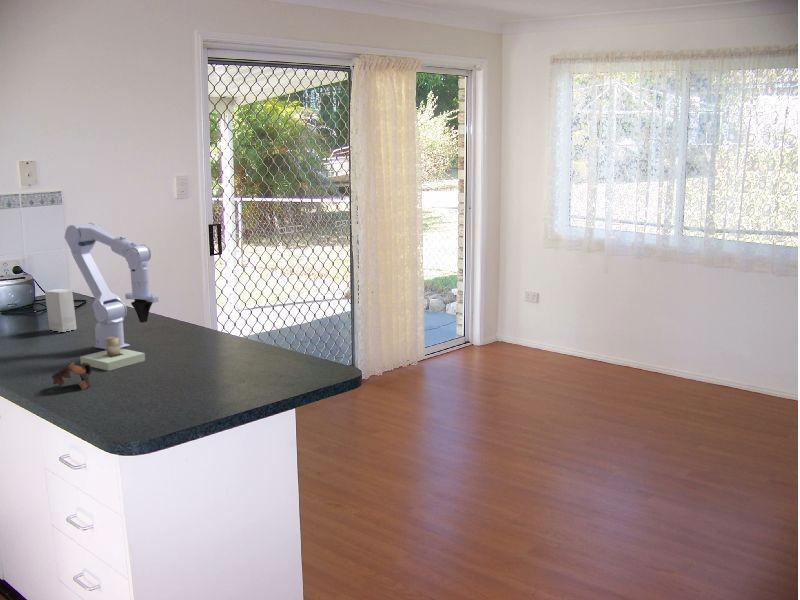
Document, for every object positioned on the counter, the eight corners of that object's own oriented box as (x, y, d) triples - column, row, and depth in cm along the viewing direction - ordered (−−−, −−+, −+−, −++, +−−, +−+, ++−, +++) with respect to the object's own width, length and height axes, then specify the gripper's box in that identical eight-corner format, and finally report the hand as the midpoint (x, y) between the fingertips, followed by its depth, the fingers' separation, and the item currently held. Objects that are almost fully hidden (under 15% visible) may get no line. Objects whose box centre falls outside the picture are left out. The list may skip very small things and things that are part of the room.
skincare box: (77, 330, 313) (73, 289, 310) (61, 333, 308) (58, 292, 305) (63, 327, 317) (59, 287, 315) (47, 331, 312) (44, 290, 309)
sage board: (80, 364, 265) (80, 356, 264) (117, 354, 276) (116, 347, 276) (108, 370, 257) (108, 362, 257) (145, 360, 269) (144, 353, 268)
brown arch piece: (78, 395, 235) (60, 371, 233) (59, 405, 239) (41, 381, 238) (105, 373, 245) (89, 351, 243) (86, 383, 249) (70, 361, 248)
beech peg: (105, 362, 266) (103, 338, 265) (115, 359, 270) (113, 336, 268) (113, 364, 264) (111, 340, 263) (123, 361, 268) (121, 337, 266)
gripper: (116, 282, 277) (119, 321, 279) (144, 285, 269) (148, 326, 271) (133, 279, 282) (136, 318, 285) (162, 282, 274) (165, 322, 277)
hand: (143, 321), depth 278 cm, fingers closed
